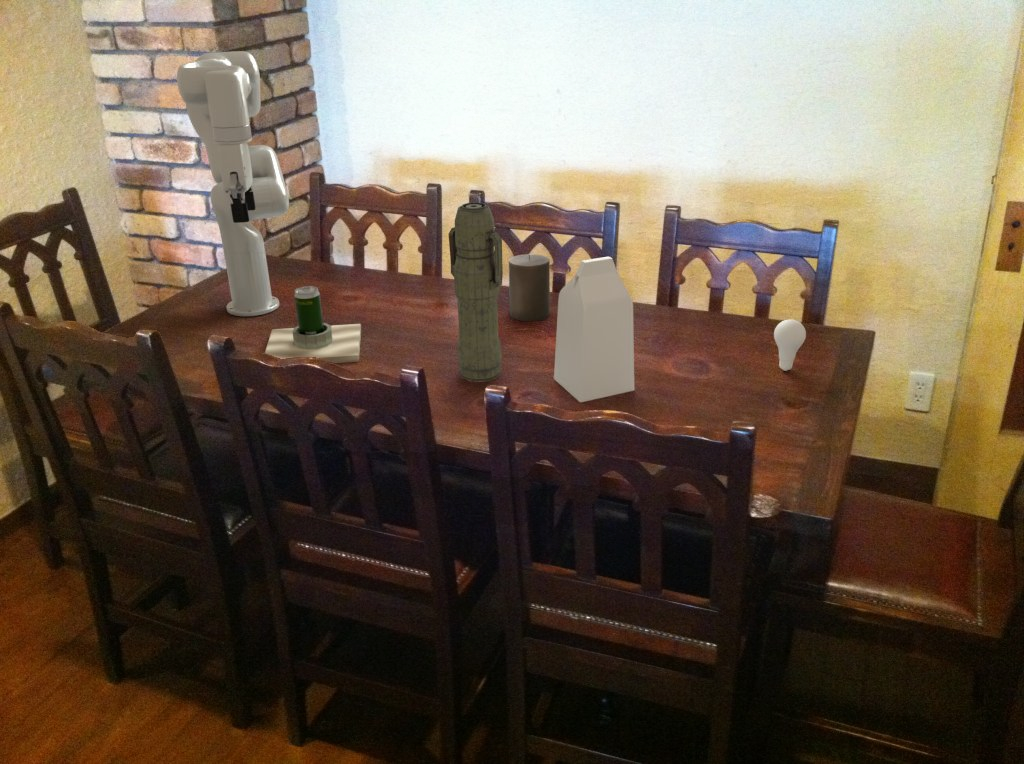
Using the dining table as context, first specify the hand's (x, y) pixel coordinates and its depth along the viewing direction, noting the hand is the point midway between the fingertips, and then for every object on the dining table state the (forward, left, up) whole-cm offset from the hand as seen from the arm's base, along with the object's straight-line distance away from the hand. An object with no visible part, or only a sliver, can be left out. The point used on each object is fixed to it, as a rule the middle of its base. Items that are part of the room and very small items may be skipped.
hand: (244, 216), depth 185 cm
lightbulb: (+36, +109, -28) cm, 118 cm away
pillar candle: (-4, +62, -28) cm, 68 cm away
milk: (+36, +69, -28) cm, 83 cm away
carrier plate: (+8, +12, -28) cm, 32 cm away
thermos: (+27, +47, -28) cm, 61 cm away
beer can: (+8, +12, -27) cm, 30 cm away
